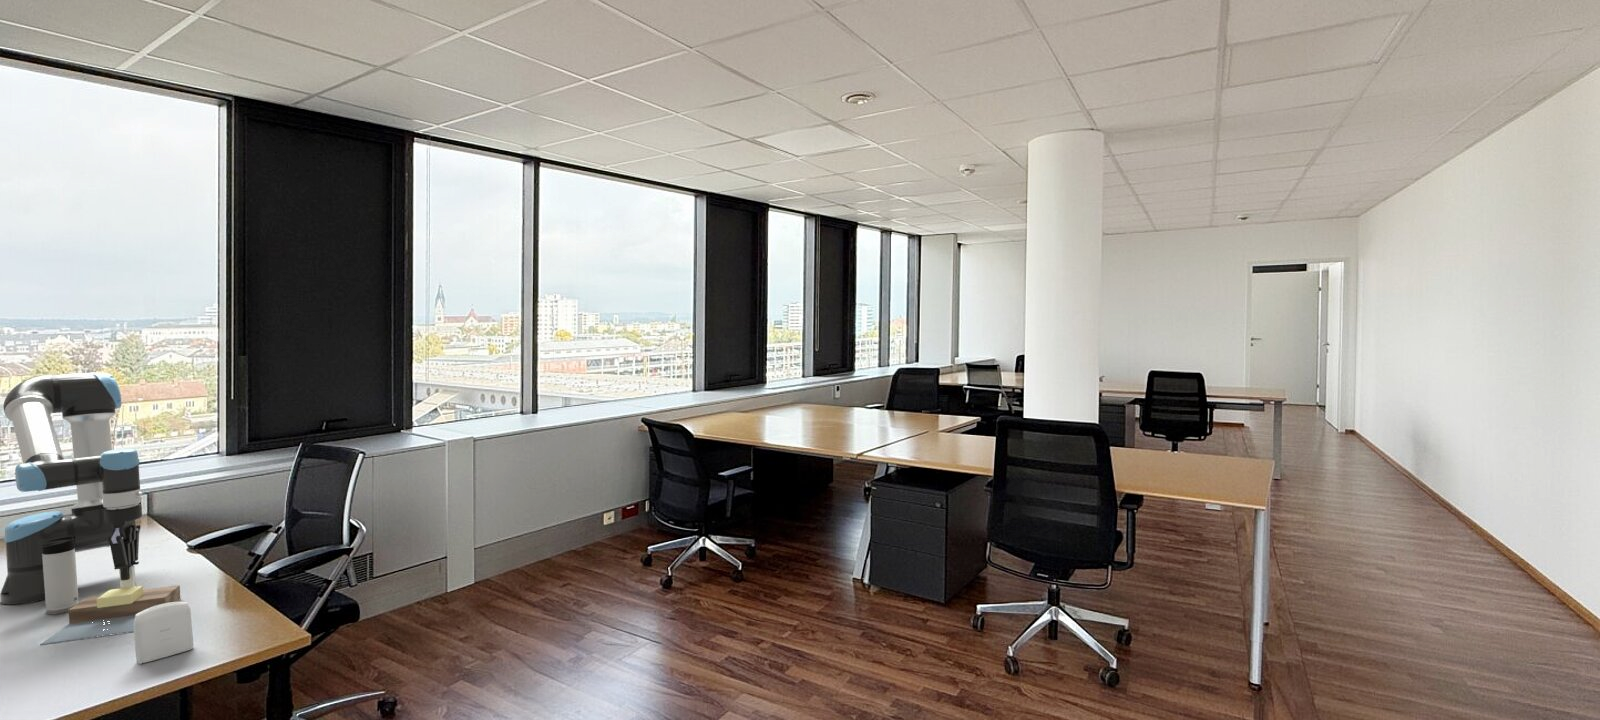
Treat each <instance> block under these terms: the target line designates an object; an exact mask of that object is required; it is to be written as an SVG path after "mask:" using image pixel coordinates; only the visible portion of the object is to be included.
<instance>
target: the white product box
mask: <svg viewBox="0 0 1600 720" xmlns="http://www.w3.org/2000/svg"><path fill="white" fill-rule="evenodd" d="M191 610H192V609H191V607H190V606H189V603H188V602H187V601H177V602H170V603H164V604H160V605H156V606H153V607H150V608H148V609H145V610H143V611H141V612H139V613H137V614H135V619H134V632H133V634H134V637H133V638H134V645H135V646H134V647H135V648H134V649H135V658H136V663H137V664H138V665H143V664H145V663H148V662H149V663H150V662H152V661H156V660H160V659H164V658H167V657H171V656H173V655H177V654H180V653H183V652H187V651H191V650H193V649H194V635H193V621H192V611H191ZM142 663H143V664H142Z"/></svg>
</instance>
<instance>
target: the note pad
mask: <svg viewBox="0 0 1600 720" xmlns="http://www.w3.org/2000/svg"><path fill="white" fill-rule="evenodd" d="M143 587H144V586H143V585H137V586H136V587H128V588H121V587H120V588H114V589H108V590H107V591H106V592H104V593H103V594H100V595H101V596H100V597H99V598H97V608H101V607H109V606H117V605H124V604H132V603H133V602H134V601H136V600H137V599H138V598H139V597H141V596H142V595H143V590H144V588H143Z"/></svg>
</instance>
